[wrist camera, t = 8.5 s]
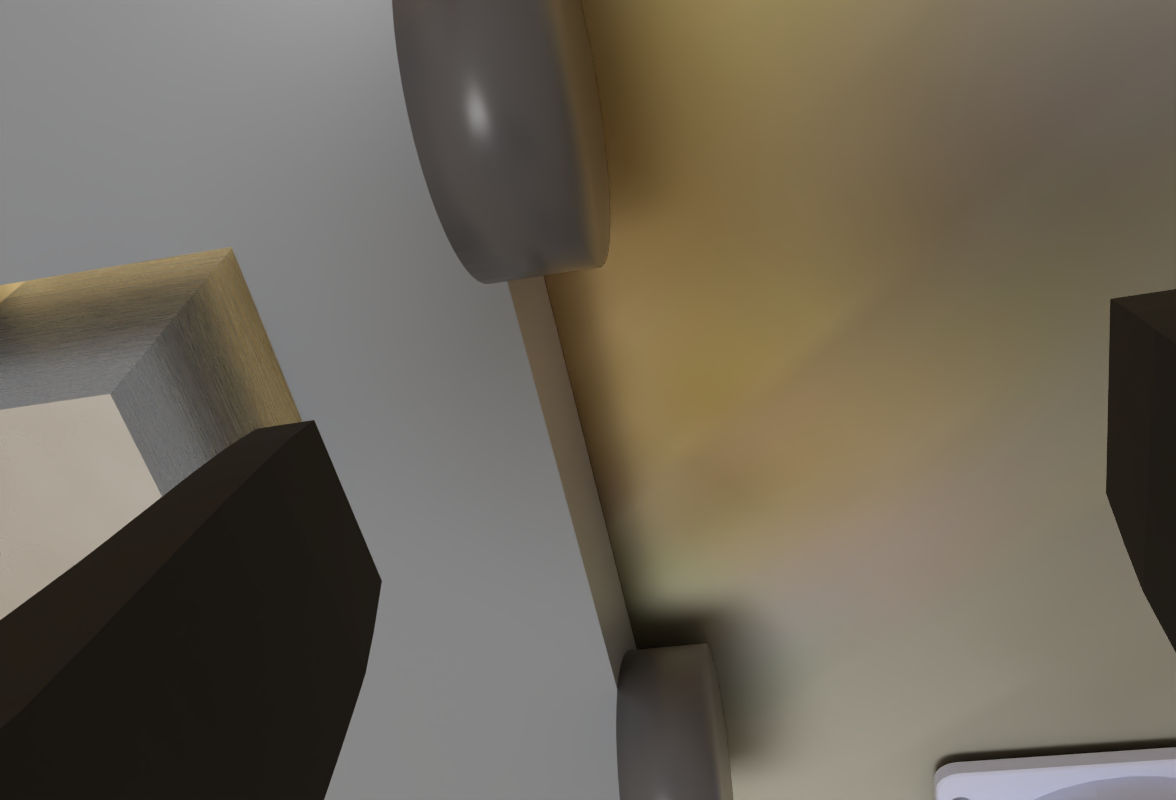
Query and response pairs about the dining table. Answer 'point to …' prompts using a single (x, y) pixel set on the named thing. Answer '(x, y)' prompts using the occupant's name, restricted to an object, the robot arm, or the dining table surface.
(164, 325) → the beige block
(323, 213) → the chassis
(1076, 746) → the dining table surface
